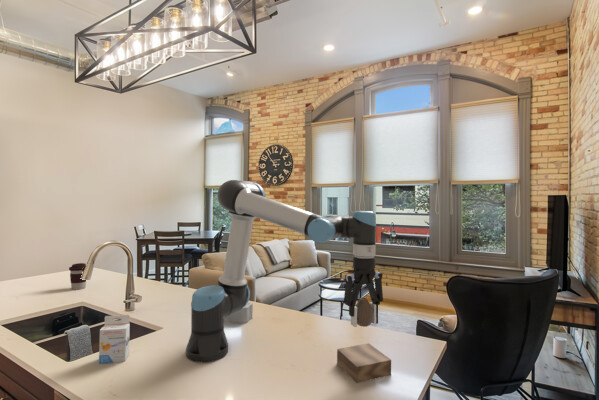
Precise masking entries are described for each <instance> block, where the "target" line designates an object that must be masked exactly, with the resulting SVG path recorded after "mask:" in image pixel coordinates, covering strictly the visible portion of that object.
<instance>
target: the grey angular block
mask: <svg viewBox="0 0 599 400" xmlns="http://www.w3.org/2000/svg"><path fill="white" fill-rule="evenodd" d="M253 311H254V310H253V302H252V301H248V303H247V304H246V305H245V306H244V307H243V308H242V309H241V310H239V311H237V312H234V313H232V314H231V315H229V316H227V317H225V318H224V321H225V322H228V323H230V324H231V323H232V324H239V325H242V324H247V323H249V321H251V320H253V316H254V315H253Z"/></svg>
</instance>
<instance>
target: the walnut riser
mask: <svg viewBox="0 0 599 400" xmlns="http://www.w3.org/2000/svg"><path fill="white" fill-rule="evenodd" d="M336 363H337V365H339V367H341V369H342V370H343V371H344V372H345V373H346V374H347V375H349V377H350V378H351V379H353V381H355V383H358V384H359V383H362V382H366V381H370V379H371V380H375V378H376V379H380V378H384V376H385V377H389V376H392V359H391V358H390V357H388V356H387V355H385V354H384V353H383V352H382V351H380V350H379V349H377V348H375V347H374V346H373V345H372V344H370V343H364V344H358V345H351V346H346V347H341V348H337V352H336ZM379 377H380V378H379Z"/></svg>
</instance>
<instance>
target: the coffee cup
mask: <svg viewBox="0 0 599 400" xmlns="http://www.w3.org/2000/svg"><path fill="white" fill-rule="evenodd" d="M85 265H87V264H86V263H83V262H80V263H73V264H72V265H71V266H70V267H69V268H68V271H70V273H69V277H70V279H69V280H70V285H71V286H70V288H71V290H73V291H74V290H75V291H77V290H83V289H85V288H86V287H87V281H86V280H82V279H80V278H81V275H82V268H83V267H84V266H85Z"/></svg>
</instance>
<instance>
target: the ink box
mask: <svg viewBox="0 0 599 400" xmlns="http://www.w3.org/2000/svg"><path fill="white" fill-rule="evenodd" d="M118 319H119V320H118ZM130 325H131V323H130V315H129V314H123V315H122V314H118V315H117V314H116V315H105V316H104V325H103V326H102V327H101V328H100V329H99V345H98V347H99V348H98V349H99V351H98V353H99V355H98V364H109V363H121V362H122V363H123V362H124V363H125V362H126V361H127V360H128V357H129V356H130V330H131V328H130V327H131V326H130Z"/></svg>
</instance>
